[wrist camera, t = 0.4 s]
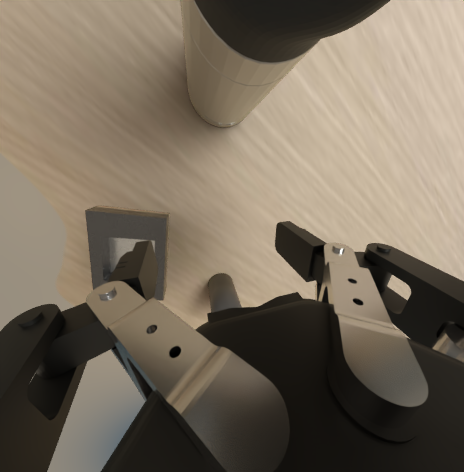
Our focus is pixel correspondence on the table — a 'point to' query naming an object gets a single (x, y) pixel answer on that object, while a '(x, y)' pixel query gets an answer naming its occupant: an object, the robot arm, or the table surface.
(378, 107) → the table surface
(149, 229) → the dark rectangular frame
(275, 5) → the robot arm
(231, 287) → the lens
